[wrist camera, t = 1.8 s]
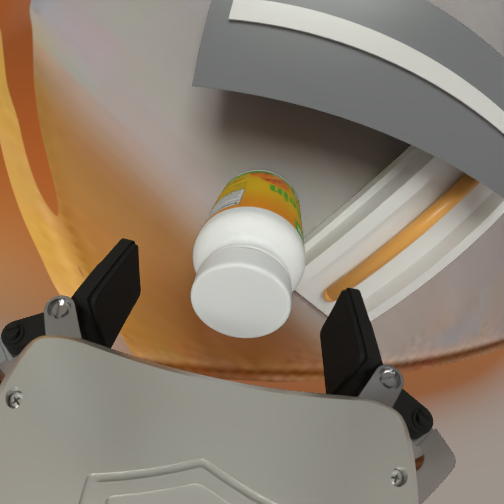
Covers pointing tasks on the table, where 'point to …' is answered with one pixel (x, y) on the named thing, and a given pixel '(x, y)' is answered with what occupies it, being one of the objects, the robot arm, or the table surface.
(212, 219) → the supplement bottle
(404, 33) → the block
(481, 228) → the duct base
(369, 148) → the table surface
